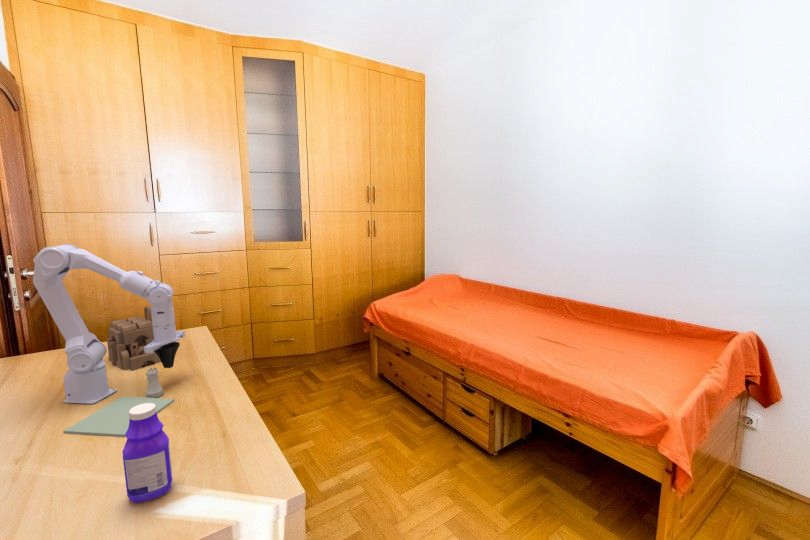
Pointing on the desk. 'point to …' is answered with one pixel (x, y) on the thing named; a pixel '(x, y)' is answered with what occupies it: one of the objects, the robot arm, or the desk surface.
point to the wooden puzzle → (131, 342)
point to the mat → (114, 417)
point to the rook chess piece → (153, 384)
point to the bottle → (146, 455)
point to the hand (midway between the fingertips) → (168, 367)
